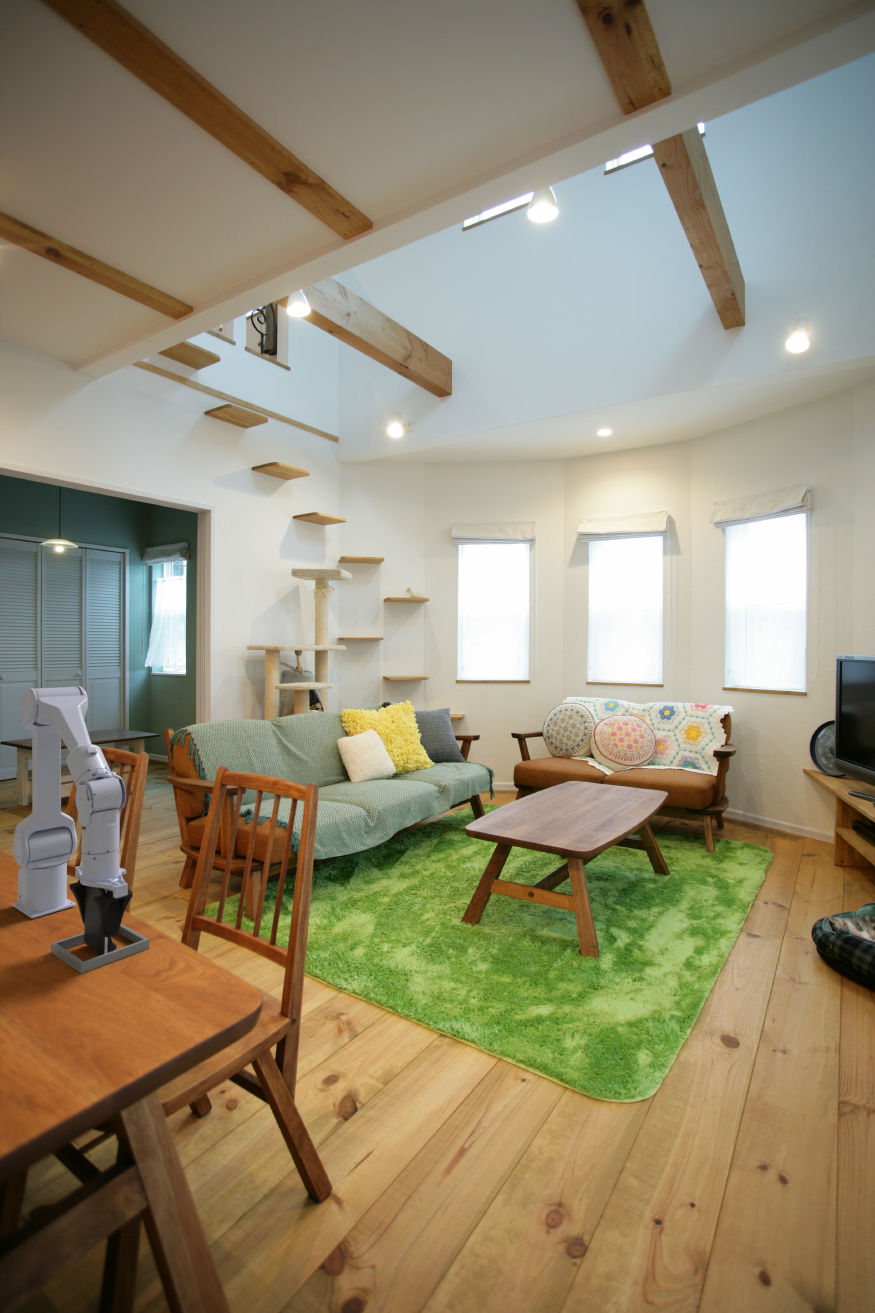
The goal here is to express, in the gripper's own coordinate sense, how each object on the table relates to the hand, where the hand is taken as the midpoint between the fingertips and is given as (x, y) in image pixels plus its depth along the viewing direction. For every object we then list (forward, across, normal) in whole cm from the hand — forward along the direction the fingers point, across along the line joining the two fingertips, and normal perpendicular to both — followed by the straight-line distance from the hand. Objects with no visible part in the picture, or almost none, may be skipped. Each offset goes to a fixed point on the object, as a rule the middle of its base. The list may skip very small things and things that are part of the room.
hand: (100, 928), depth 111 cm
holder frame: (+4, 0, 0) cm, 4 cm away
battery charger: (+4, 0, -1) cm, 4 cm away
